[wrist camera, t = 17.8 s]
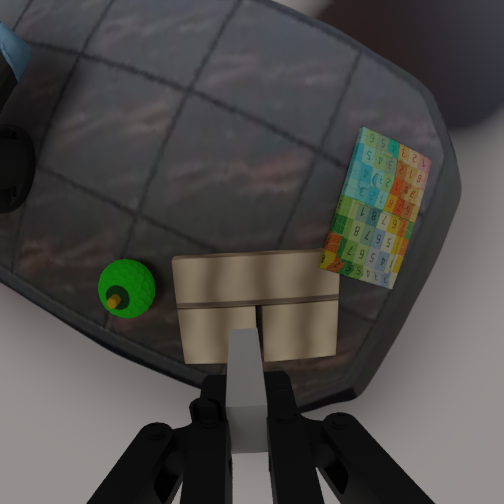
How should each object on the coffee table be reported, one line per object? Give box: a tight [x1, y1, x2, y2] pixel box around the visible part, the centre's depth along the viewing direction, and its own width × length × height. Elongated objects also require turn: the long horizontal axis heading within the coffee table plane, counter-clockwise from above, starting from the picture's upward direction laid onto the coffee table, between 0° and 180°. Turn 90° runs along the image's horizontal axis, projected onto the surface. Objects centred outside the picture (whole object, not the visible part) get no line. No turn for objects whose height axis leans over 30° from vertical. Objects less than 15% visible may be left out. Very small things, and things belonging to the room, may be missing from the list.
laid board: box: [172, 248, 339, 308], centre depth 44 cm, size 23×7×2 cm, turn 93°
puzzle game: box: [318, 126, 431, 290], centre depth 42 cm, size 12×5×20 cm
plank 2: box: [261, 299, 338, 362], centre depth 46 cm, size 11×9×2 cm
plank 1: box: [178, 305, 256, 364], centre depth 46 cm, size 11×9×2 cm
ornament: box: [98, 259, 155, 318], centre depth 40 cm, size 8×8×10 cm
